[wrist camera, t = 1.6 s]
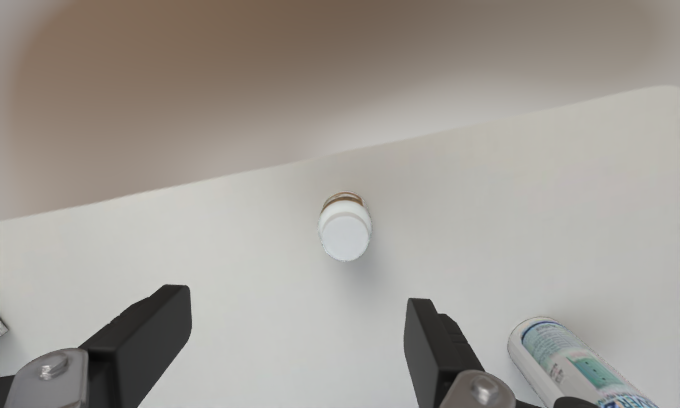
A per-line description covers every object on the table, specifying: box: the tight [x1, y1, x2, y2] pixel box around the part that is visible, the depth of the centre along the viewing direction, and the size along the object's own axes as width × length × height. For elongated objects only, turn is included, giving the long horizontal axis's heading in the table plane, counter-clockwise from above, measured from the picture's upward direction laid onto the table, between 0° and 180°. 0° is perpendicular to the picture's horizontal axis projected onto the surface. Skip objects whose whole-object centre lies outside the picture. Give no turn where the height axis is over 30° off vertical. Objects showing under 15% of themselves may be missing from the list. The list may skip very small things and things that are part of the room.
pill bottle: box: [318, 191, 372, 261], centre depth 26 cm, size 4×4×8 cm
